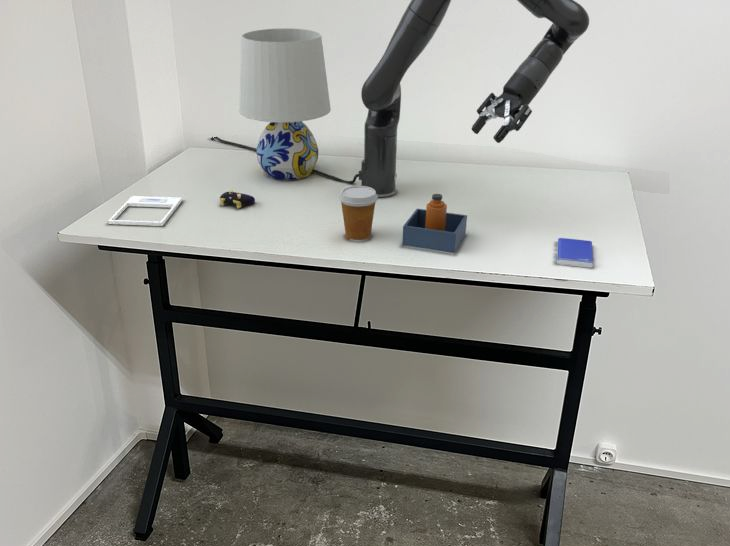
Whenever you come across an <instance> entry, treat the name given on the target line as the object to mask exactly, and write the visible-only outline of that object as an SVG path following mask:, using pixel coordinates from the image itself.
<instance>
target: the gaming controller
mask: <svg viewBox="0 0 730 546" xmlns="http://www.w3.org/2000/svg"><path fill="white" fill-rule="evenodd" d="M219 200H220V205H221V206H222V207H223V206H226V204H227V205H233V206H236V209H241V208H243V207H244V206H245V205H246V206H247V205H253V204H254V203H255V201H256V199H255V197H254V196H253V195H250V194H247V193H241V192H236V191H234V190H229V191H225V192H223V193H222V194H221V195H220V197H219Z"/></svg>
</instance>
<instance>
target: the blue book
mask: <svg viewBox="0 0 730 546" xmlns="http://www.w3.org/2000/svg"><path fill="white" fill-rule="evenodd" d="M556 247H557V250H556V264H557V265H560V266H561V265H562V266H572V267H580V268H589V269H590V268H593V266H594V253H593V241H592V240H587V239H586V240H585V239H575V238H568V237H567V238H566V237H559V238H558V239H557V246H556Z"/></svg>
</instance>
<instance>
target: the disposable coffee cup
mask: <svg viewBox="0 0 730 546" xmlns="http://www.w3.org/2000/svg"><path fill="white" fill-rule="evenodd" d="M378 198H379V197H378V196H377V195H376V191H375V190H374V189H373V188H371V187H367V186H362V185H350V186H346V187H344V188H342V189H341V190H340V194H339V195H338V199H339V201H340V204H341V211H342V217H343V225H344V232H345V238H346V239H347V240H354V241H355V240H356V241H363V240H367V239H369V238H370V237H371V235H372V229H373V228H372V227H373V222H374V221H373V219H374V214H375V207H376V202H377V199H378Z"/></svg>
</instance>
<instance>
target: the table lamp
mask: <svg viewBox="0 0 730 546" xmlns="http://www.w3.org/2000/svg"><path fill="white" fill-rule="evenodd" d="M323 45H324V44H323V37H322V33H321V32H319V31H317V30H313V29H306V28H296V27H295V28H294V27H292V28H290V27H278V28H262V29H255V30H250V31H246V32H244V33H242V34H241V35H240V69H239V70H240V73H239V109H238V110H239V114H240V115H241V116H242V117H244V118H246V119H249V120H252V121H258V122H263V123H264V122H265V123H268V124H267V125H266V126H265V127H264V129H263V131H262V132H261V134H260V137H259V139H258V142H257V147H256V149H257V151H256V157H257V162H258V164H259V165H260V168H261V169H262V171H263V172H264V173H265V174H266V175H267V177H269V178H270V179H273V180H277V181H297V180H303V179H305V178H307V177H309V176H310V175H311V173H313V172H312V170H313V169H315V168H316V165H317V162H318V160H319V147H318V143H317V140H316V138H315V136H314V134H313V133H312V131H311V129H310V128H309V127H308V126H307V125H306V123H304V122H307V121H312V120H316V119H319V118H323V117H325V116H327V115H328V114H329V113H330V112H331V111H332V110H331V109H332V108H331V101H330V94H329V85H328V78H327V77H328V76H327V70H326V62H325V53H324V46H323Z"/></svg>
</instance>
